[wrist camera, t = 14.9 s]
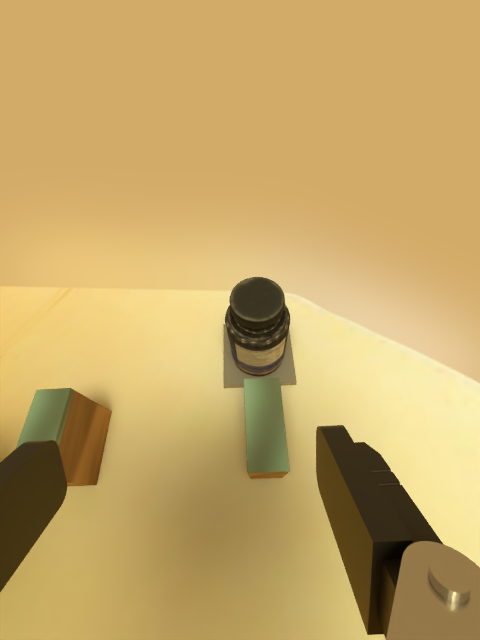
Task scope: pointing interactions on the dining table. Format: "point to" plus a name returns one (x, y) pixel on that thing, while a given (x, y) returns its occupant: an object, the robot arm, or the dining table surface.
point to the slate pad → (236, 376)
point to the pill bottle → (257, 325)
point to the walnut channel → (93, 420)
